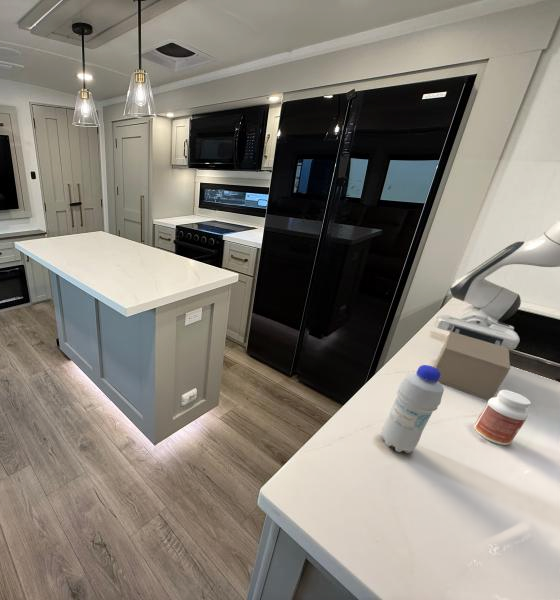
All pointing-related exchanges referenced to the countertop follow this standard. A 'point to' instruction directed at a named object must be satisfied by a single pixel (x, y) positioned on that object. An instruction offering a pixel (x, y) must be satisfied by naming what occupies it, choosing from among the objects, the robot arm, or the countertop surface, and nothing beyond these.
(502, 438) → the pill bottle
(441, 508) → the countertop surface
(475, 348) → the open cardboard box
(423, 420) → the bottle
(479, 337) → the detergent drawer
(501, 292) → the robot arm
